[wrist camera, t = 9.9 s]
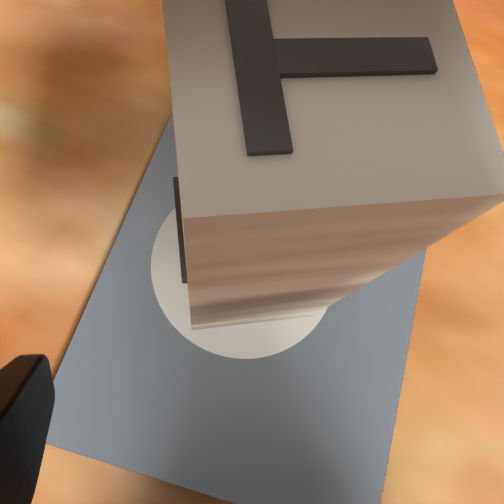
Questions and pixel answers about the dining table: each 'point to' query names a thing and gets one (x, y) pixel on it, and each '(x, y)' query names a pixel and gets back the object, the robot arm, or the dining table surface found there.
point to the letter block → (319, 147)
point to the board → (231, 375)
